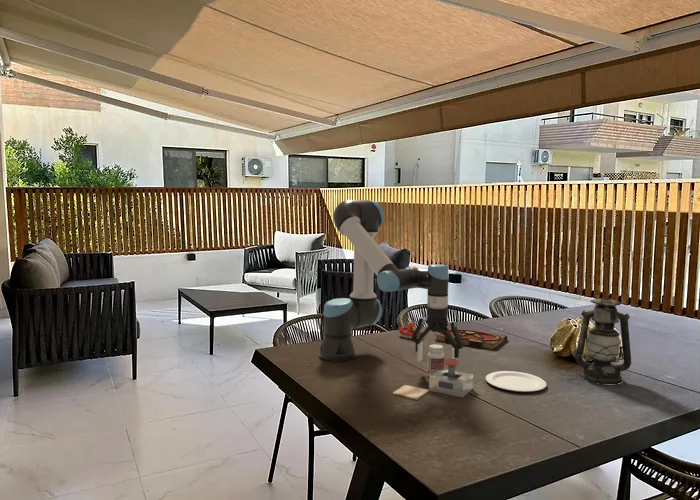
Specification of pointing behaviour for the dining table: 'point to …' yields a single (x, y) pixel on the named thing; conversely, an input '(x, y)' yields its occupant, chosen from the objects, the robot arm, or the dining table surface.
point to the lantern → (604, 343)
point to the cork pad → (410, 392)
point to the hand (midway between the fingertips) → (436, 363)
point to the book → (475, 339)
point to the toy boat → (408, 331)
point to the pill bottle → (435, 358)
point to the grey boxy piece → (451, 383)
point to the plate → (516, 381)
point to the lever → (451, 366)
